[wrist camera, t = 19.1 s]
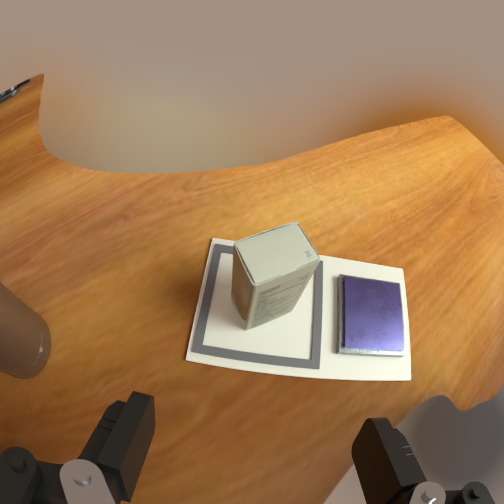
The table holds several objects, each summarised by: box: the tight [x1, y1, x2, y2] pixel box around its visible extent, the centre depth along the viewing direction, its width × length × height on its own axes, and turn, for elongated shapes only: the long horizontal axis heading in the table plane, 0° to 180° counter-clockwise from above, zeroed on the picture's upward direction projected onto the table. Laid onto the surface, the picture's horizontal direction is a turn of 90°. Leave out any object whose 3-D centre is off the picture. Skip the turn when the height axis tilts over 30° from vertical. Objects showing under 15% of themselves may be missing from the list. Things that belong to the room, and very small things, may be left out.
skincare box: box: [231, 222, 321, 330], centre depth 29 cm, size 6×4×12 cm
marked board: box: [186, 238, 411, 381], centre depth 34 cm, size 27×16×1 cm, turn 83°
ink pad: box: [336, 274, 405, 357], centre depth 34 cm, size 9×10×2 cm
